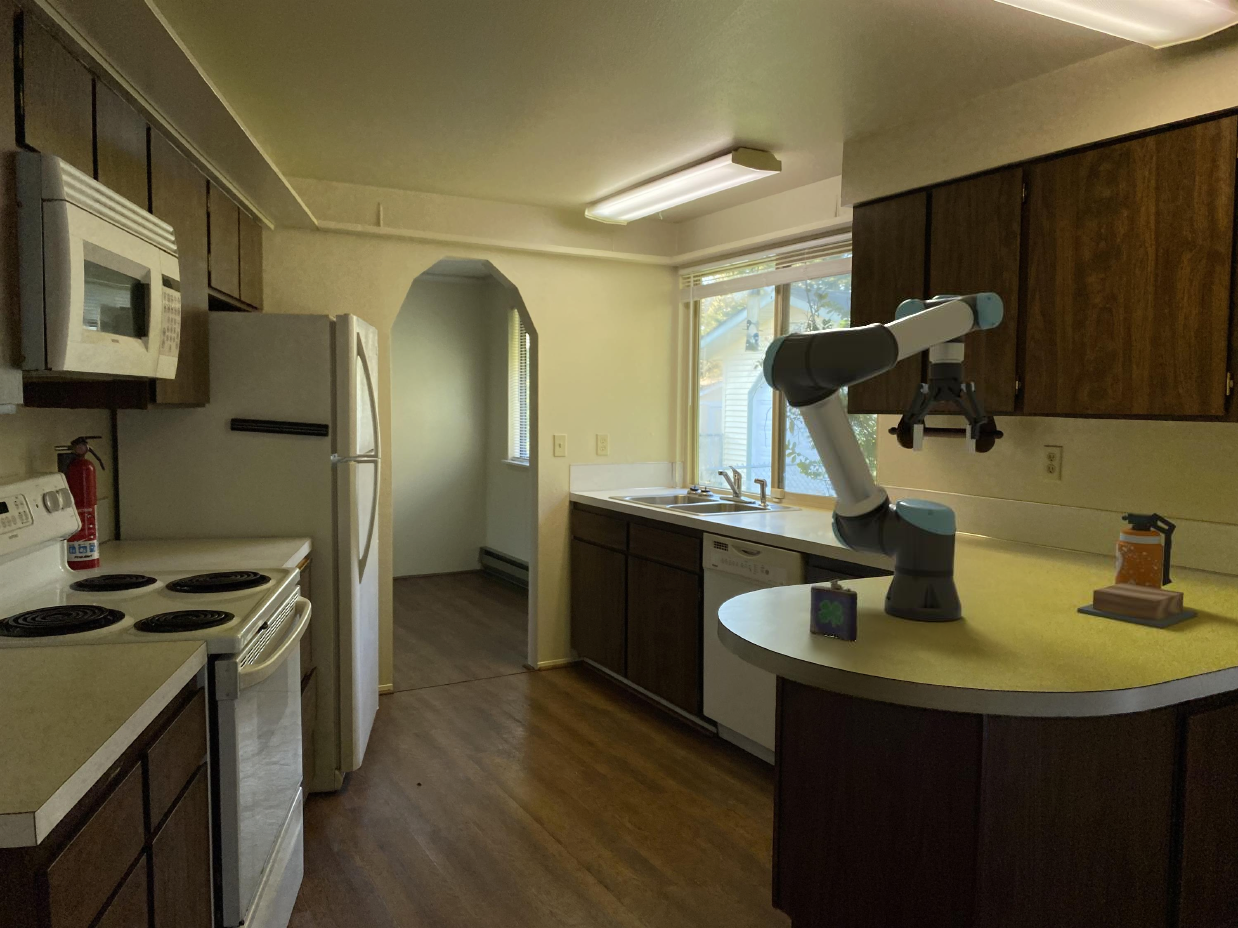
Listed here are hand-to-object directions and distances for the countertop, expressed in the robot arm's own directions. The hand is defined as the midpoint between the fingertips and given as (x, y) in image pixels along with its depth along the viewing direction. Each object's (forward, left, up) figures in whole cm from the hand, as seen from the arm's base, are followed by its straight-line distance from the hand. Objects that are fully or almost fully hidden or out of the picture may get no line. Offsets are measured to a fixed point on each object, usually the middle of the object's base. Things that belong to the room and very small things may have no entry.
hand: (943, 452), depth 191 cm
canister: (+29, -33, -33) cm, 55 cm away
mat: (+13, -38, -33) cm, 52 cm away
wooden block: (+13, -38, -32) cm, 51 cm away
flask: (-55, -13, -33) cm, 65 cm away
